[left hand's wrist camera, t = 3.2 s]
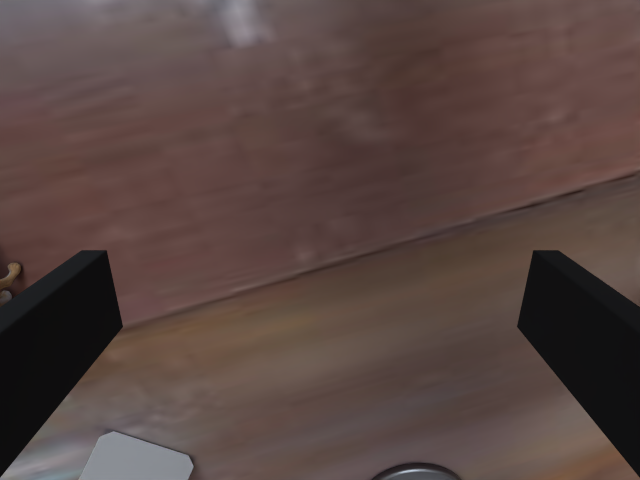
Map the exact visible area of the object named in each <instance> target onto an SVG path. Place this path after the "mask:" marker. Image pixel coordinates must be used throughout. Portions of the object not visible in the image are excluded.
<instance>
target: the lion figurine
mask: <svg viewBox="0 0 640 480" xmlns="http://www.w3.org/2000/svg"><path fill="white" fill-rule="evenodd" d="M8 269H9V274H8V276H7V277H5V278H3V279H0V290H1V289H3V288H5V287H9V286H11V285H12V283H13V281H14V280H15V278H16V277H17V275H18V274H19V273H20V271H21V266H20V264H18V263H16V262H14V263H11V264H9V265H8ZM0 298H1V299H0V307H1V306H3V305H4V304H5V303H7V302H8V301H10V300H11V299H12V295H11V293H10V292H9V291H6V290H3V291H1V293H0Z"/></svg>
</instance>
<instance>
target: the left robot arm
mask: <svg viewBox="0 0 640 480" xmlns="http://www.w3.org/2000/svg"><path fill="white" fill-rule="evenodd" d="M122 327H123V325H122V320H121V316H120V311H119V306H118V302H117V297H116V292H115V287H114V283H113V278H112V273H111V269H110V264H109V259H108V255H107V250H82V251H80V252H79V253H77V254H76V255H74V256H73V257H72V258H70V259H69V260H67V261H66V262H64V263H63V264H61V265H60V266H59V267H57V268H56V269H54V270H53V271H51V272H50V273H49V274H47V275H46V276H44V277H43V278H41V279H40V280H39V281H37V282H36V283H34V284H33V285H31V286H30V287H28V288H27V289H26V290H24V291H23V292H21V293H20V294H18V295H17V296H16V297H14V298H13V299H11V300H10V301H8V302H7V303H5V304H4V305H3V306H1V307H0V477H1V476H2V475H3V473H4V472H5V471H6V470H7V468H8V467H9V466H10V465H11V464H12V462H13V461H14V460H15V459H16V457H17V456H18V455H19V454H20V453H21V451H22V450H23V449H24V448H25V446H26V445H27V444H28V443H29V441H30V440H31V439H32V438H33V437H34V435H35V434H36V433H37V432H38V430H39V429H40V428H41V427H42V425H43V424H44V423H45V422H46V421H47V419H48V418H49V417H50V416H51V414H52V413H53V412H54V411H55V410H56V408H57V407H58V406H59V405H60V403H61V402H62V401H63V400H64V398H65V397H66V396H67V395H68V394H69V392H70V391H71V390H72V389H73V387H74V386H75V385H76V384H77V382H78V381H79V380H80V379H81V378H82V376H83V375H84V374H85V373H86V371H87V370H88V369H89V368H90V367H91V365H92V364H93V363H94V362H95V360H96V359H97V358H98V357H99V355H100V354H101V353H102V352H103V351H104V349H105V348H106V347H107V346H108V344H109V343H110V342H111V341H112V339H113V338H114V337H115V336H116V335H117V333H118V332H119V331H120V330H121V328H122ZM517 327H518V328H519V330H520V331H521V332H522V333H523V335H524V336H525V337H526V338H527V339H528V341H529V342H530V343H531V344H532V346H533V347H534V348H535V349H536V351H537V352H538V353H539V354H540V355H541V357H542V358H543V359H544V360H545V362H546V363H547V364H548V365H549V367H550V368H551V369H552V370H553V371H554V373H555V374H556V375H557V376H558V378H559V379H560V380H561V381H562V382H563V384H564V385H565V386H566V387H567V389H568V390H569V391H570V392H571V394H572V395H573V396H574V397H575V398H576V400H577V401H578V402H579V403H580V405H581V406H582V407H583V408H584V410H585V411H586V412H587V413H588V414H589V416H590V417H591V418H592V419H593V421H594V422H595V423H596V424H597V425H598V427H599V428H600V429H601V430H602V432H603V433H604V434H605V435H606V437H607V438H608V439H609V440H610V441H611V443H612V444H613V445H614V446H615V448H616V449H617V450H618V451H619V453H620V454H621V455H622V456H623V457H624V459H625V460H626V461H627V462H628V464H629V465H630V466H631V467H632V468H633V470H634V471H635V472H636V473H637V475H638V476H639V477H640V307H639V306H637V305H636V304H635V303H633V302H632V301H630V300H629V299H627V298H626V297H624V296H623V295H622V294H620V293H619V292H617V291H616V290H614V289H613V288H612V287H610V286H609V285H607V284H606V283H604V282H603V281H601V280H600V279H599V278H597V277H596V276H594V275H593V274H591V273H590V272H589V271H587V270H586V269H584V268H583V267H581V266H580V265H579V264H577V263H576V262H574V261H573V260H571V259H570V258H568V257H567V256H566V255H564V254H563V253H561V252H560V251H558V250H533V255H532V259H531V264H530V269H529V273H528V278H527V283H526V287H525V292H524V297H523V302H522V306H521V311H520V316H519V320H518V325H517ZM372 480H461V479H460V478H459V477H458V476H457V475H456V474H455V473H453V472H451V471H450V470H448V469H446V468H443V467H440V466H437V465H432V464H425V463H412V464H405V465H400V466H396V467H393V468H391V469H388V470H386V471H384V472H382V473H380V474H379V475H377V476H376V477H375V478H373V479H372Z"/></svg>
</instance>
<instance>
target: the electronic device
mask: <svg viewBox="0 0 640 480" xmlns="http://www.w3.org/2000/svg"><path fill="white" fill-rule="evenodd" d="M193 467H194V466H193V464H192V462H191V460H190V458H189V456H188V455H186V454H183V453H180V452H176V451H173V450H170V449H167V448H164V447H161V446H158V445H155V444H152V443H149V442H145V441H142V440H139V439H136V438H133V437H130V436H127V435H124V434H121V433H117V432H114V431H113V432H110V433H108V434H105V435H103V436H100V437H99V439H98V441H97V443H96V445H95V447H94V449H93V451H92V453H91V455H90V458H89V460H88V462H87V464H86V466H85V468H84V470H83V472H82V474H81V476H80V478H79V480H188V478H189V476H190V474H191V472H192V469H193Z"/></svg>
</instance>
